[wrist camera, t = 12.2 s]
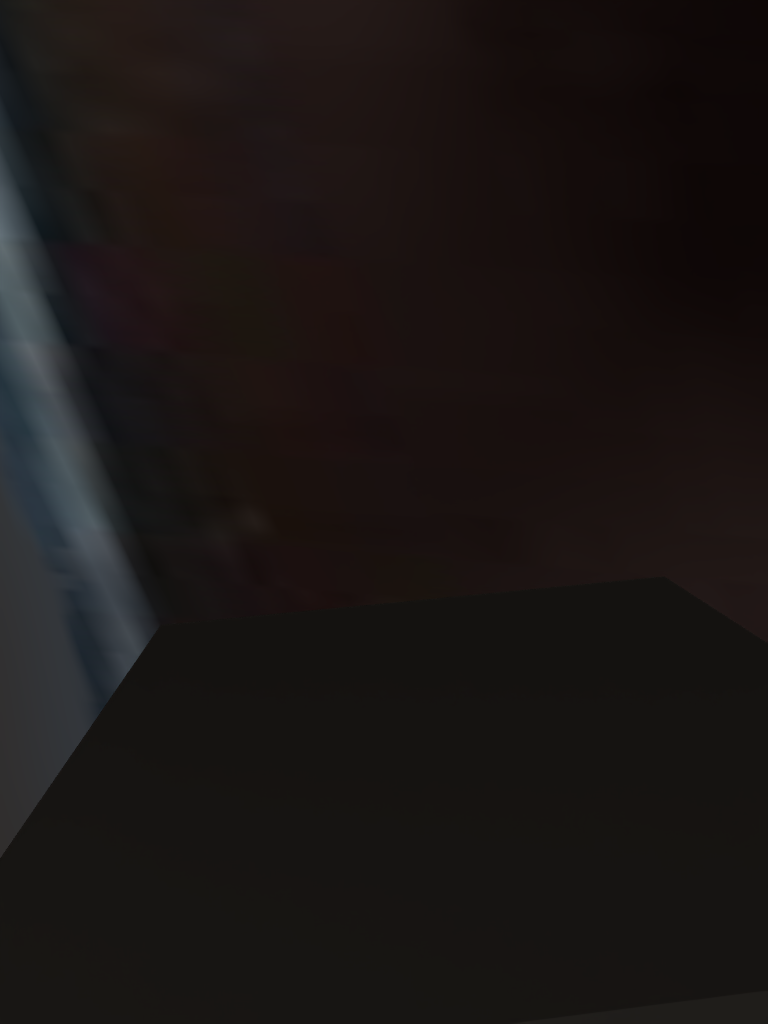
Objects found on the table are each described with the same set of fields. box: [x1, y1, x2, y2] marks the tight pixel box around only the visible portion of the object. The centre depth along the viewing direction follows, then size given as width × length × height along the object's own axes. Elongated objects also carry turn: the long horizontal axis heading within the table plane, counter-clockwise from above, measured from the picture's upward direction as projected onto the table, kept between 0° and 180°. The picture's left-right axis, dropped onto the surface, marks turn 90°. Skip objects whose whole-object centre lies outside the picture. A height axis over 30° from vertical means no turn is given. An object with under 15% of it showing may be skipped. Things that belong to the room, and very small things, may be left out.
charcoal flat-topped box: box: [0, 577, 768, 1024], centre depth 10 cm, size 10×10×9 cm
